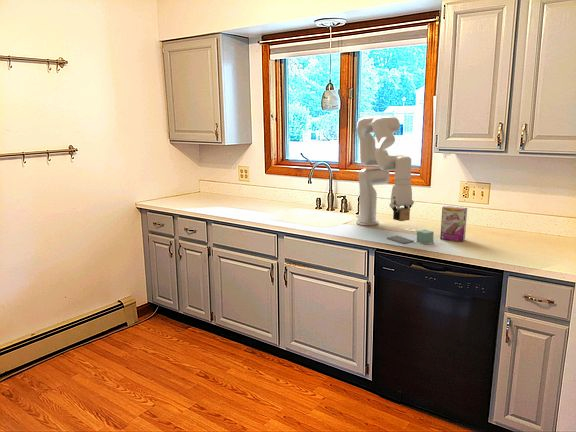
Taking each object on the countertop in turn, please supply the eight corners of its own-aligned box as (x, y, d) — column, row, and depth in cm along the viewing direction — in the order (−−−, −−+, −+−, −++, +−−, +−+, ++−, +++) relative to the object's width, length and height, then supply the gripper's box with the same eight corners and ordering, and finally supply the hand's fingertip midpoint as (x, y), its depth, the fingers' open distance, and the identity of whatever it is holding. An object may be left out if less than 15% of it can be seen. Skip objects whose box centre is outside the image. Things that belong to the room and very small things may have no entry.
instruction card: (403, 229, 257) (403, 228, 257) (409, 228, 259) (409, 227, 259) (411, 231, 252) (411, 230, 252) (417, 230, 254) (417, 229, 254)
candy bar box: (439, 239, 236) (441, 207, 233) (442, 237, 240) (444, 205, 237) (463, 242, 230) (465, 209, 227) (465, 239, 235) (467, 207, 231)
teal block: (416, 241, 232) (416, 231, 231) (424, 240, 235) (425, 229, 234) (424, 244, 228) (425, 233, 227) (433, 242, 230) (433, 231, 229)
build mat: (386, 238, 239) (386, 237, 239) (397, 236, 242) (397, 235, 242) (403, 243, 229) (403, 242, 228) (414, 241, 232) (414, 240, 232)
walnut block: (393, 219, 234) (393, 208, 233) (401, 218, 237) (401, 207, 236) (401, 221, 229) (401, 210, 228) (409, 220, 232) (409, 208, 231)
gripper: (410, 180, 237) (408, 215, 240) (383, 182, 228) (382, 219, 232) (421, 181, 230) (419, 218, 234) (394, 184, 222) (393, 222, 225)
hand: (401, 218), depth 233 cm, fingers closed on walnut block, 5 cm apart
